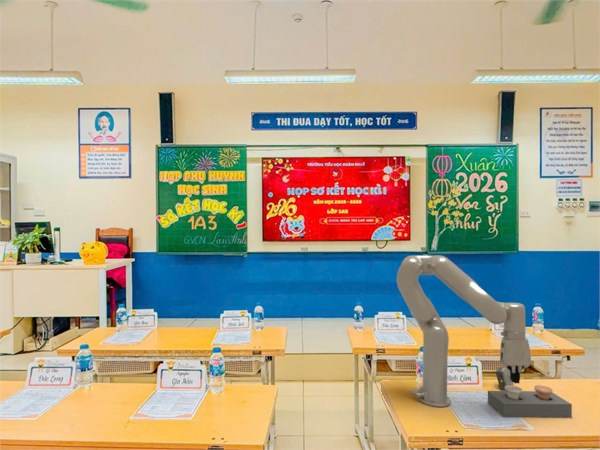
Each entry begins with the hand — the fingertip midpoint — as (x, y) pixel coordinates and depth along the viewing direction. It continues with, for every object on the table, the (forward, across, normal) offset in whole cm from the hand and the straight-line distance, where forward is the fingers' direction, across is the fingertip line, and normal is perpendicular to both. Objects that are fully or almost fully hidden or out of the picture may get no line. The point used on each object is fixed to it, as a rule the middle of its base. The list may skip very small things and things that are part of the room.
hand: (515, 382), depth 155 cm
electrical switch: (+11, +8, +22) cm, 26 cm away
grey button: (+7, -1, 0) cm, 7 cm away
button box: (+11, +5, 0) cm, 12 cm away
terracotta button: (+8, +11, 0) cm, 14 cm away
